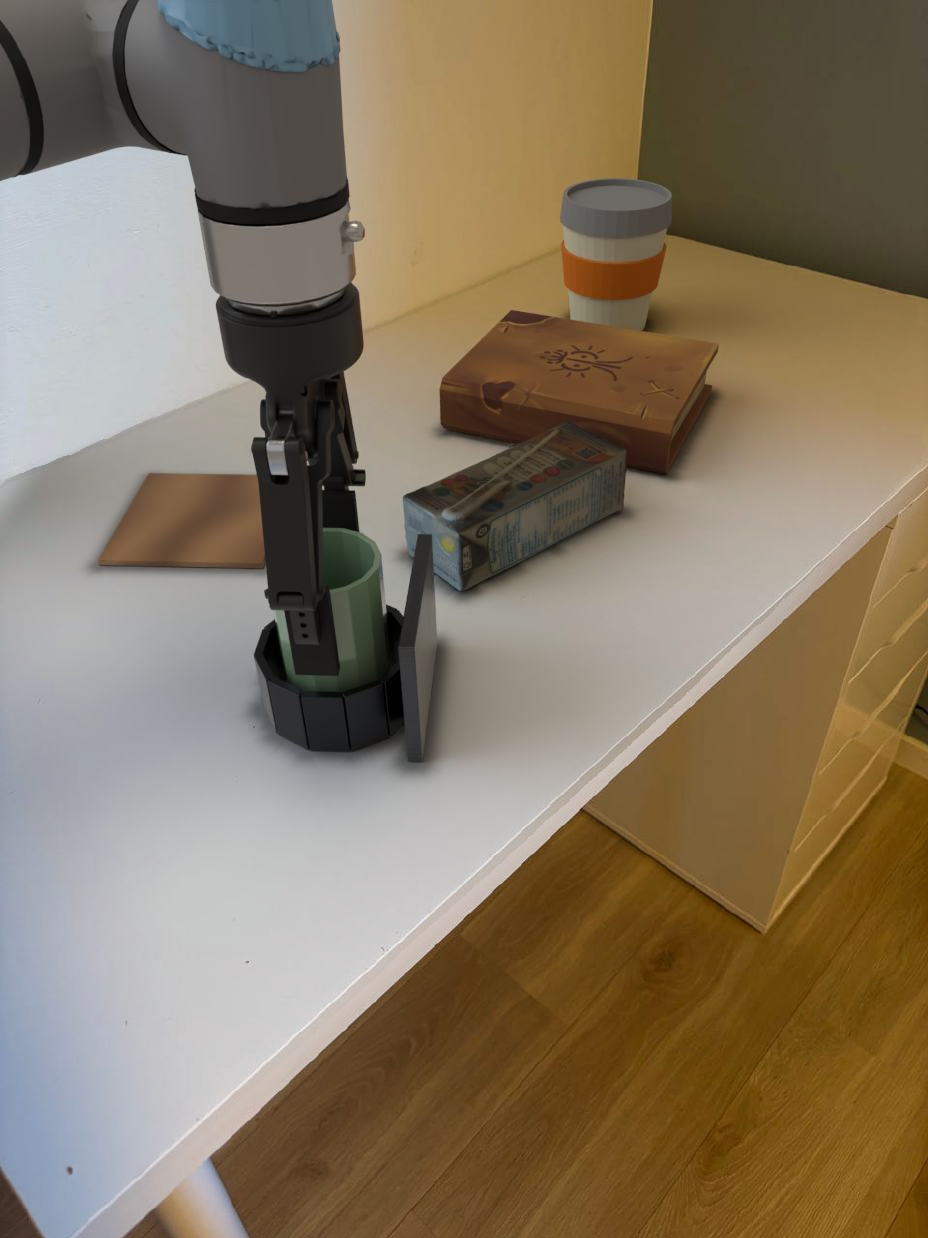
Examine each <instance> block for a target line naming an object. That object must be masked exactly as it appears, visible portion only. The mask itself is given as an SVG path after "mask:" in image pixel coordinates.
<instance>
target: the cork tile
mask: <svg viewBox="0 0 928 1238" xmlns="http://www.w3.org/2000/svg"><path fill="white" fill-rule="evenodd" d="M97 561H98V564H99V565H98V566H123V567H124V566H126V567H127V566H130V567H170V568H171V567H173V568H175V567H176V568H218V569H219V568H222V569H223V568H226V569H230V568H231V569H264V567H265V565H266V562H265V550H264V539H263V528H262V517H261V506H260V495H259V484H258V478H257V474H242V473H241V474H236V473H235V474H233V473H231V474H230V473H229V474H228V473H171V472H170V473H169V472H168V473H167V472H166V473H165V472H164V473H163V472H150V473H148V474H147V476H146V477H145V479H144V481H143V482H142V484H141V486H140V488H139V489H138V491H137V493H136V494H135V495H134V498H133V500H132V501H131V503H130V504H129V506H128V507H127V509H126V511H125V513H124V514H123V516H122V518H121V520H120V521H119V523H118V525H117V526H116V529H114V532H113V533H112V535H111V537H110V538H109V540H108V542H107V544H106V545H105V547H104V549H103V550H102V552H101V554H100V555H99V557H98V559H97Z"/></svg>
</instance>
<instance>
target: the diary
mask: <svg viewBox="0 0 928 1238" xmlns="http://www.w3.org/2000/svg"><path fill="white" fill-rule="evenodd" d="M719 347H720V343H718V342H712V341H705V340H699V339H694V338H687V337H680V336H675V335H669V334H662V333H656V332H650V331H644V330H642V331H638V330H632V329H626V328H620V327H614V326H608V325H601V324H595V323H589V322H583V321H577V320H571V319H570V318H565V317H557V316H551V315H546V314H539V313H533V312H526V311H520V310H515V309H511V310H509V311H508V312H507V313H506V314H505V315H504V316H503V317H502V318H501V319H500V320H499V322H497V323H496V324H495V325H494V326H493V327H492V328H491V329H490V330H489V331H488V332H487V333H486V334H485V335H484V336H483V337H482V338H481V339H480V340H479V341H478V342H476V344H475V345H474V346H473V347H472V348H470V350H469V351H468V352H466V354H465V355H463V357H462V358H461V359H459V361H457V362H456V364H454V365H453V366H452V368H450V369H449V370H448V372H446V373H445V374H444V375H443V376H442V379H441V382H440V385H439V418H440V420H439V421H440V422H439V424H440V425H441V426H442V428H443V429H445V430H451V431H456V432H459V433H460V432H461V433H466V434H469V435H474V436H479V437H484V438H490V439H494V440H499V441H504V442H507V443H512V444H516V445H517V444H519V443H522V442H524V441H526V440H529V439H531V438H533V437H535V436H537V435H540V434H541V433H543V432H545V431H548V430H550V429H552V428H554V427H557V426H559V425H562V424H564V423H566V422H567V421H570V422H571V423H573V424H575V425H577V426H579V427H581V428H582V429H584V430H587V431H589V432H592V433H594V434H596V435H599V436H600V437H602V438H603V439H604V440H607V441H609V442H611V443H612V444H615V445H618V446H620V447H623V448H624V449H626V451H627V457H626V461H627V462H626V467H629V468H633V469H638V470H642V471H643V470H644V471H648V472H652V473H657V474H662V475H668V473H669V471H670V469H671V467H672V466H673V464H674V462H675V460H676V458H677V457H678V455H679V453H680V451H681V449H682V447H683V446H684V444H685V442H686V441H687V438H688V436H689V434H690V432H691V431H692V429H693V427H694V425H695V423H696V422H697V420H698V418H699V416H700V415H701V413H702V412H703V411H702V410H703V409H704V407H705V405H706V403H707V401H708V400H709V398H710V396H711V394H712V390H713V385H712V384H707V383H706V378H707V374H708V373H707V372H708V370H709V368H710V366H711V364H712V363H713V362H714V359H715V357H716V356H717V354H718V353H719Z"/></svg>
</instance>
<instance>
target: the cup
mask: <svg viewBox="0 0 928 1238" xmlns="http://www.w3.org/2000/svg"><path fill="white" fill-rule="evenodd" d="M264 567H265V568H266V564H265V565H264ZM323 582H324V585H329V589H330V596H331V604H332V611H333V618H334V626H335V633H336V641H337V648H338V656H339V663H340V671H339V675H338V676H316V675H295V670H294V665H293V659H292V653H291V647H290V642H289V636H288V630H287V625H286V619H285V613H284V610H272V611H273V616H274V619H275V622H276V627H277V633H278V638H279V644H280V649H281V654H282V660H283V665H284V671H285V676H286V678H285V682H286V683H288V684H290V685H292V686H294V687H296V688H299V689H301V690H303V691H325V692H344V691H347V690H350V689H353V688H356V687H359V686H362V685H364V684H367V683H370V682H373V681H376V680H379V679H380V678H381V677H382V676H383V675H384V674H385V673H386V672H387V671H388V670H389V669H391V668H392V663H391V657H390V646H389V635H388V624H387V612H386V604H387V602H386V601H387V600H386V591H385V581H384V570H383V558H382V553H381V551H380V549H379V546H378V545H377V543H376V541H374V539H371V538H370V537H369V536H367V535H366V534H364V533H363V532H356V531H352V530H349V529H345V528H323Z"/></svg>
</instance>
